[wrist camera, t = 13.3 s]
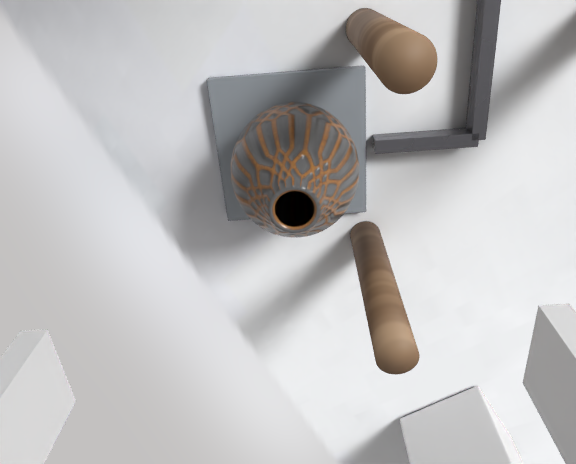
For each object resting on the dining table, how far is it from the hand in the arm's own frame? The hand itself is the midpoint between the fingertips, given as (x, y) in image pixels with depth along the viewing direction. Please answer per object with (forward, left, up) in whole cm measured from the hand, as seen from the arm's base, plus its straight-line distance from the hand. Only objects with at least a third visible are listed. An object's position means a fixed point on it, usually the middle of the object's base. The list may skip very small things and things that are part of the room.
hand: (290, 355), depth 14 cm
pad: (0, 0, -19) cm, 19 cm away
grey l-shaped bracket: (-4, +8, -19) cm, 21 cm away
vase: (0, 0, -19) cm, 19 cm away
